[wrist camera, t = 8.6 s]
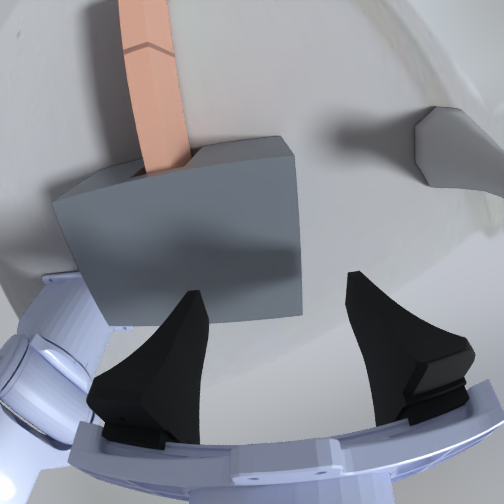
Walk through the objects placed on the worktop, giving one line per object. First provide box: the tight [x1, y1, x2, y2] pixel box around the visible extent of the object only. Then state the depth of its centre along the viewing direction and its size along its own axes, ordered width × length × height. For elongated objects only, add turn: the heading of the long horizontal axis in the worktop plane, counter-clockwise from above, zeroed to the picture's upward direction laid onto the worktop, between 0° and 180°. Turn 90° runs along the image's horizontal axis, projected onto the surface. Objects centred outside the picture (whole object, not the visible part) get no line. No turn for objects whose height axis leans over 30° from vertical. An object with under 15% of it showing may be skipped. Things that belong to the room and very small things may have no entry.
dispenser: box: [52, 136, 303, 326], centre depth 18 cm, size 14×10×7 cm
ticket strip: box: [118, 0, 192, 174], centre depth 13 cm, size 1×16×5 cm, turn 8°
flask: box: [415, 107, 504, 198], centre depth 14 cm, size 7×7×10 cm
